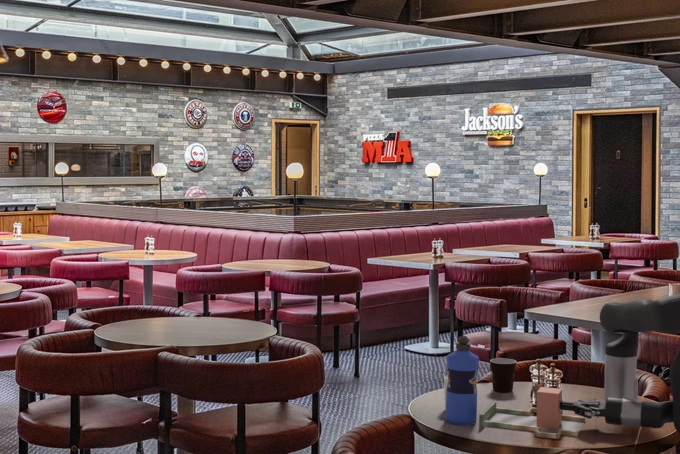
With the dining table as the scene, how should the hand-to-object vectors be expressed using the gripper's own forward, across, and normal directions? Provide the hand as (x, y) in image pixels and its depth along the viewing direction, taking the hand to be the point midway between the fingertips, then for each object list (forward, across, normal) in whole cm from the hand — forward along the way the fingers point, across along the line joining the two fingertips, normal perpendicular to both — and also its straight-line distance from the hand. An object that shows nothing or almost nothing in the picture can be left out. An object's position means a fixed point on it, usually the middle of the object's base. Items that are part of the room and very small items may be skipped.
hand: (560, 405), depth 250 cm
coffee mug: (+24, -39, +7) cm, 47 cm away
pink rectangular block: (+3, 0, +6) cm, 7 cm away
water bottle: (+28, +3, +7) cm, 29 cm away
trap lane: (+7, 0, +7) cm, 10 cm away
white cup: (+32, -9, +7) cm, 34 cm away
